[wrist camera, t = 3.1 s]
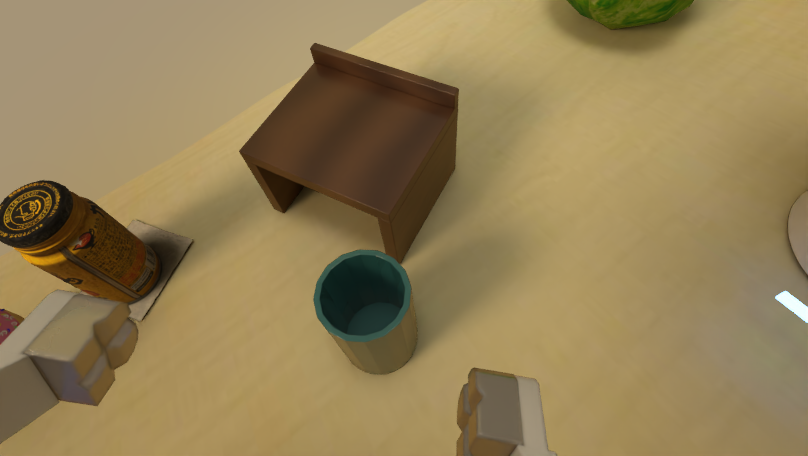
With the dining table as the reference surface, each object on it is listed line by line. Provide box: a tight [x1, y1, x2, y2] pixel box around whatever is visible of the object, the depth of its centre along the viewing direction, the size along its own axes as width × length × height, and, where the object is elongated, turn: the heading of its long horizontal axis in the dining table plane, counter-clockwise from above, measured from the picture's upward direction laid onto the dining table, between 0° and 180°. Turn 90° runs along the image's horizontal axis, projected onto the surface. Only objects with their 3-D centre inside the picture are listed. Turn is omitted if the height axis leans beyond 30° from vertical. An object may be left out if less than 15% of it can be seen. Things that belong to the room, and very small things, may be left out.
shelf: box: [239, 43, 459, 264], centre depth 40 cm, size 14×12×11 cm
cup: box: [314, 250, 418, 374], centre depth 33 cm, size 6×6×10 cm
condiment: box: [0, 180, 193, 321], centre depth 37 cm, size 7×8×12 cm
